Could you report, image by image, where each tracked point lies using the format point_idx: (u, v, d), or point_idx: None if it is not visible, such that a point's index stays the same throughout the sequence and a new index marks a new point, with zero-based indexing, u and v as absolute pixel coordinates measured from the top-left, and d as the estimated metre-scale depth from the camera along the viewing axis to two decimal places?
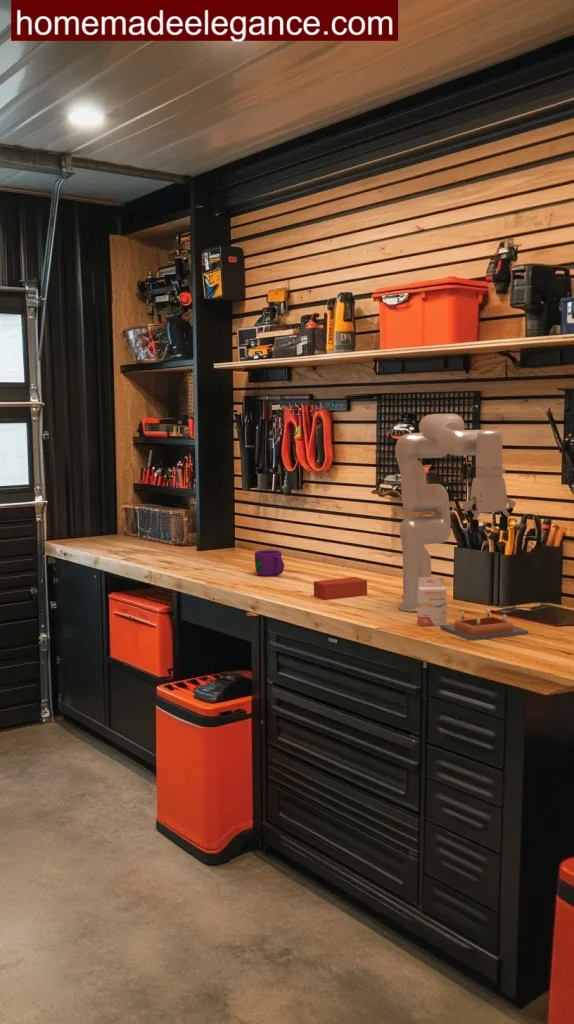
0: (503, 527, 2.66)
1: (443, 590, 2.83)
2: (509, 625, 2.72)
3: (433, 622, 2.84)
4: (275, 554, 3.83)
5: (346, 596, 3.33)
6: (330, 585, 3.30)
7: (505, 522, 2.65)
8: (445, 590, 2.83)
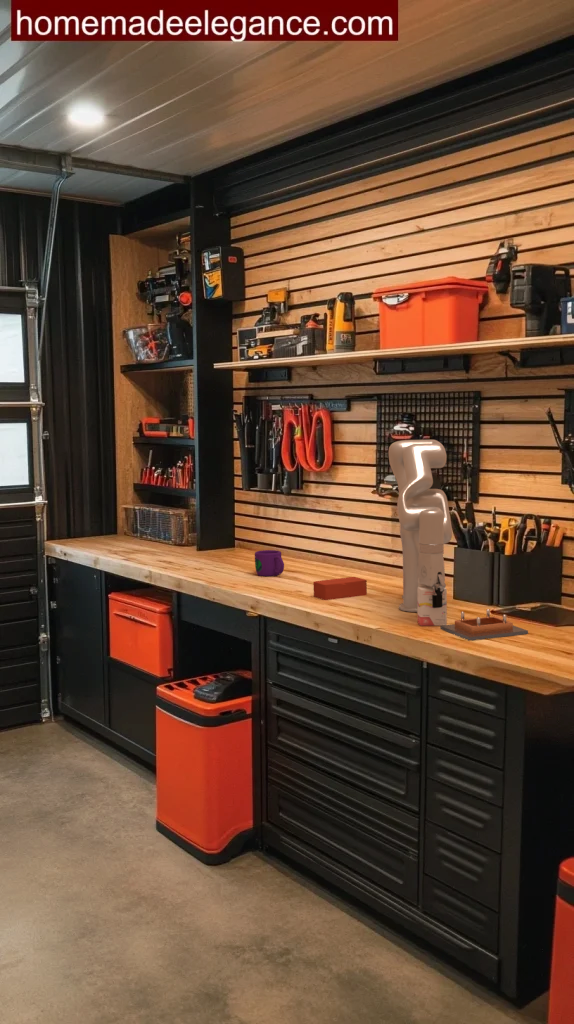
0: None
1: None
2: (509, 625, 2.72)
3: (433, 622, 2.84)
4: (275, 554, 3.83)
5: (346, 596, 3.33)
6: (331, 585, 3.30)
7: None
8: (445, 590, 2.83)
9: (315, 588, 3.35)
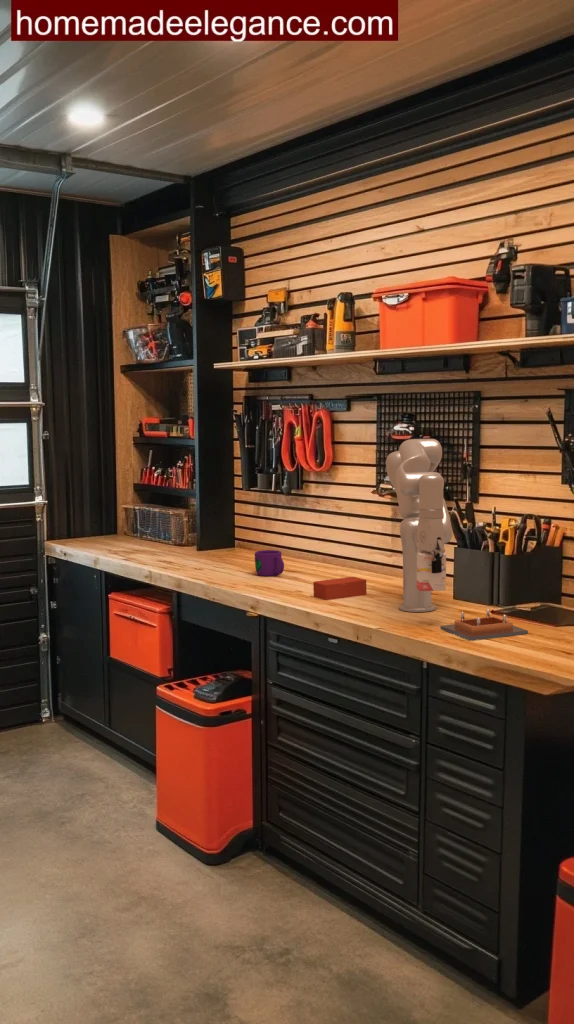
0: None
1: None
2: (509, 625, 2.72)
3: (433, 588, 2.83)
4: (275, 554, 3.83)
5: (346, 596, 3.33)
6: (331, 585, 3.30)
7: None
8: (444, 555, 2.82)
9: (315, 588, 3.35)
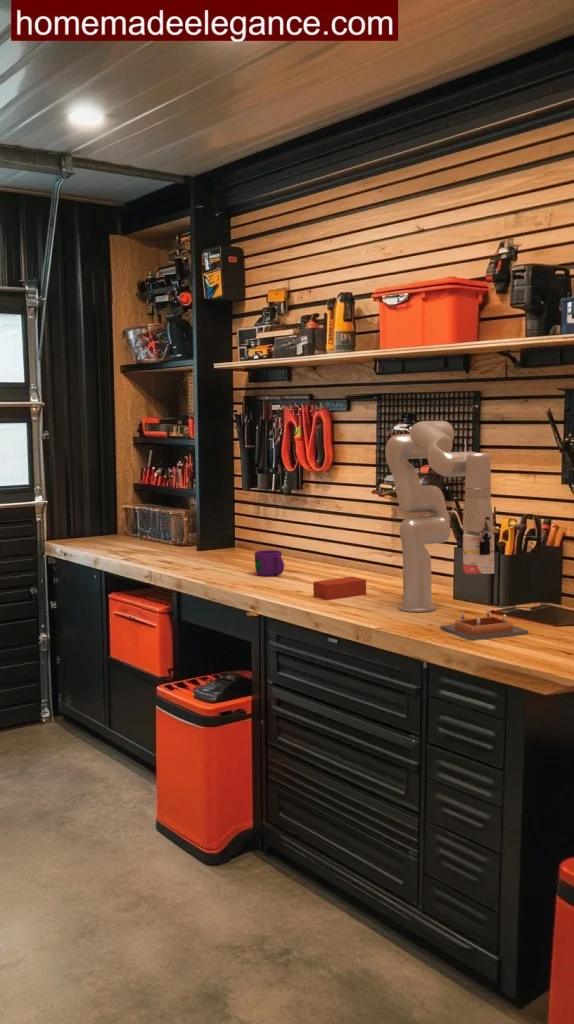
0: None
1: None
2: (509, 625, 2.72)
3: (480, 570, 2.71)
4: (275, 554, 3.83)
5: (347, 596, 3.33)
6: (332, 585, 3.30)
7: None
8: (493, 536, 2.70)
9: (315, 588, 3.35)
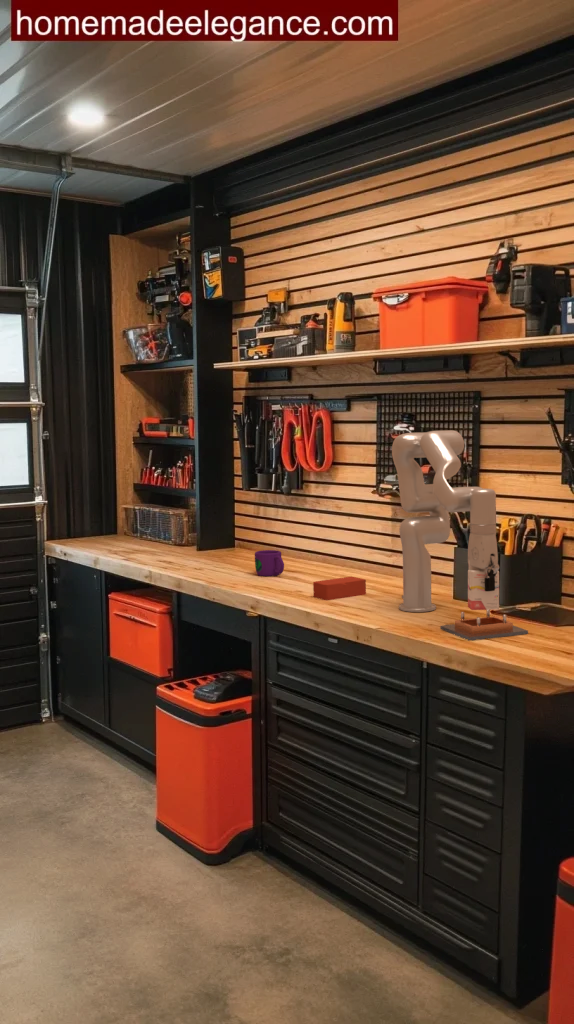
0: None
1: None
2: (509, 625, 2.72)
3: (485, 606, 2.71)
4: (275, 554, 3.83)
5: (347, 596, 3.34)
6: (332, 585, 3.30)
7: None
8: (498, 572, 2.70)
9: (315, 588, 3.35)
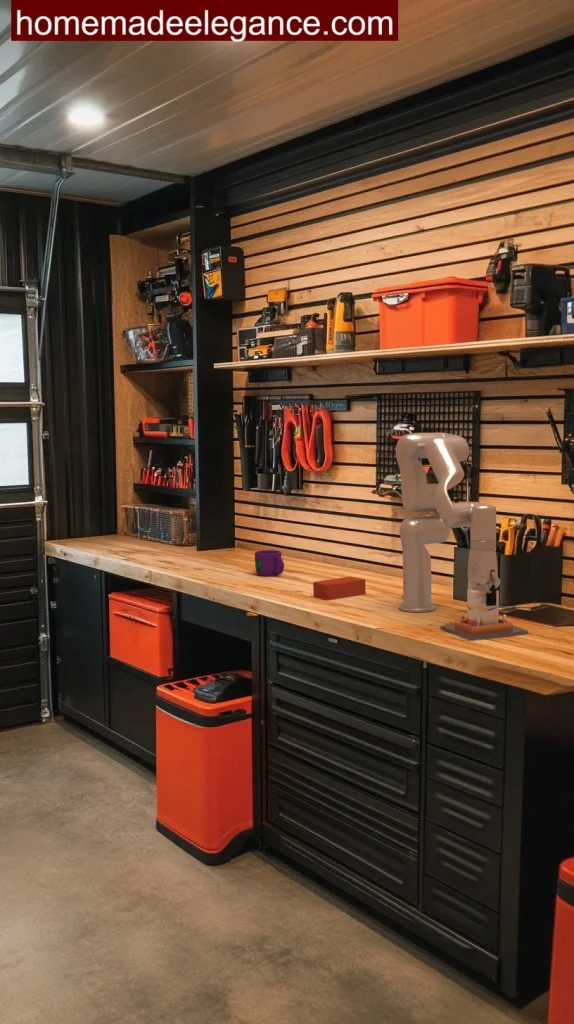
0: None
1: None
2: (509, 625, 2.72)
3: None
4: (275, 554, 3.83)
5: (347, 596, 3.34)
6: (332, 585, 3.30)
7: None
8: (497, 592, 2.71)
9: (315, 588, 3.34)
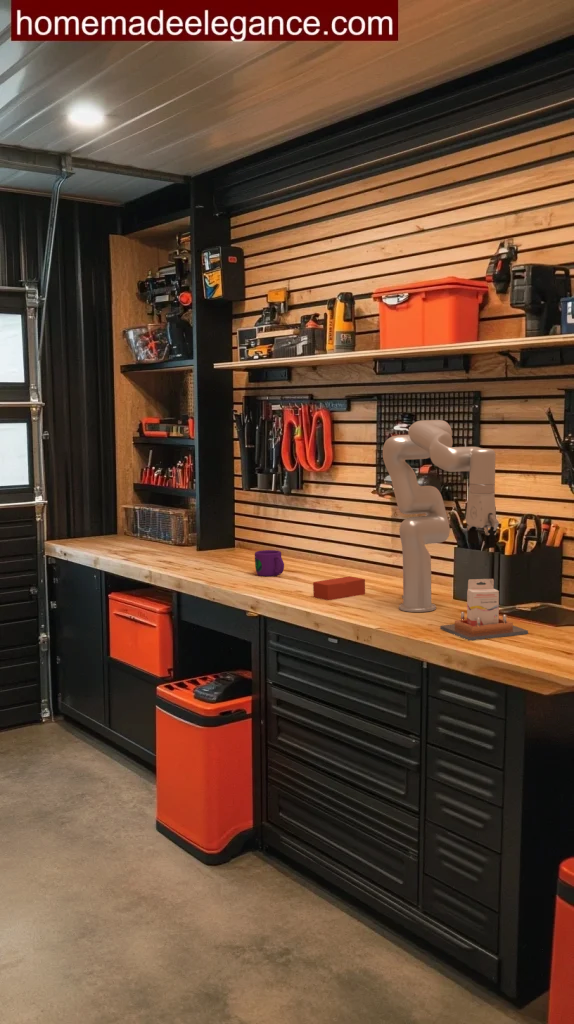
0: (475, 539, 2.80)
1: (495, 592, 2.71)
2: (509, 625, 2.72)
3: None
4: (275, 554, 3.83)
5: (347, 595, 3.34)
6: (333, 585, 3.30)
7: (477, 534, 2.80)
8: (497, 592, 2.71)
9: (315, 588, 3.34)
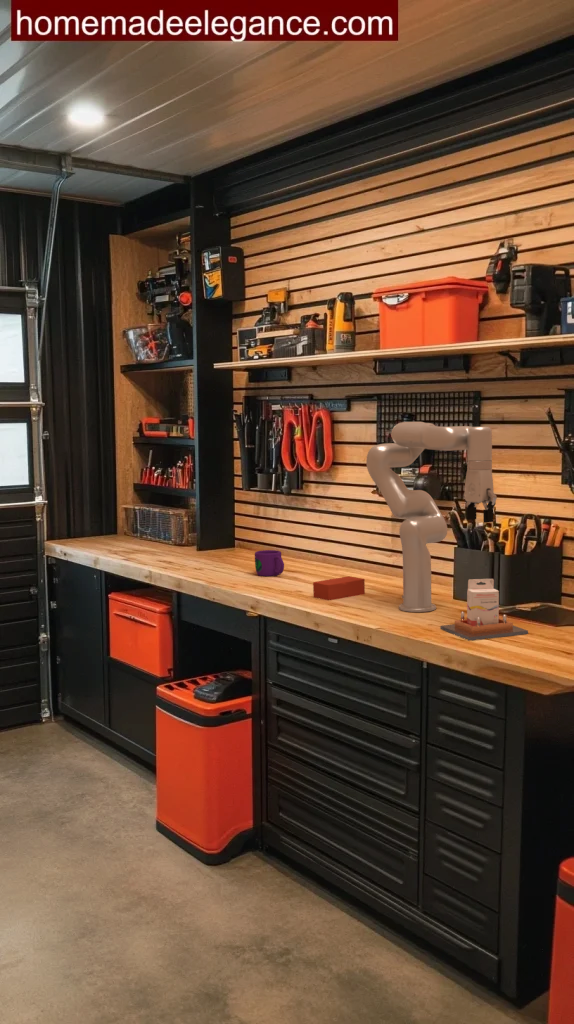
0: (474, 516, 2.88)
1: (495, 592, 2.71)
2: (509, 625, 2.72)
3: None
4: (275, 554, 3.83)
5: (347, 595, 3.34)
6: (333, 585, 3.30)
7: (475, 511, 2.89)
8: (497, 592, 2.71)
9: (315, 589, 3.34)
